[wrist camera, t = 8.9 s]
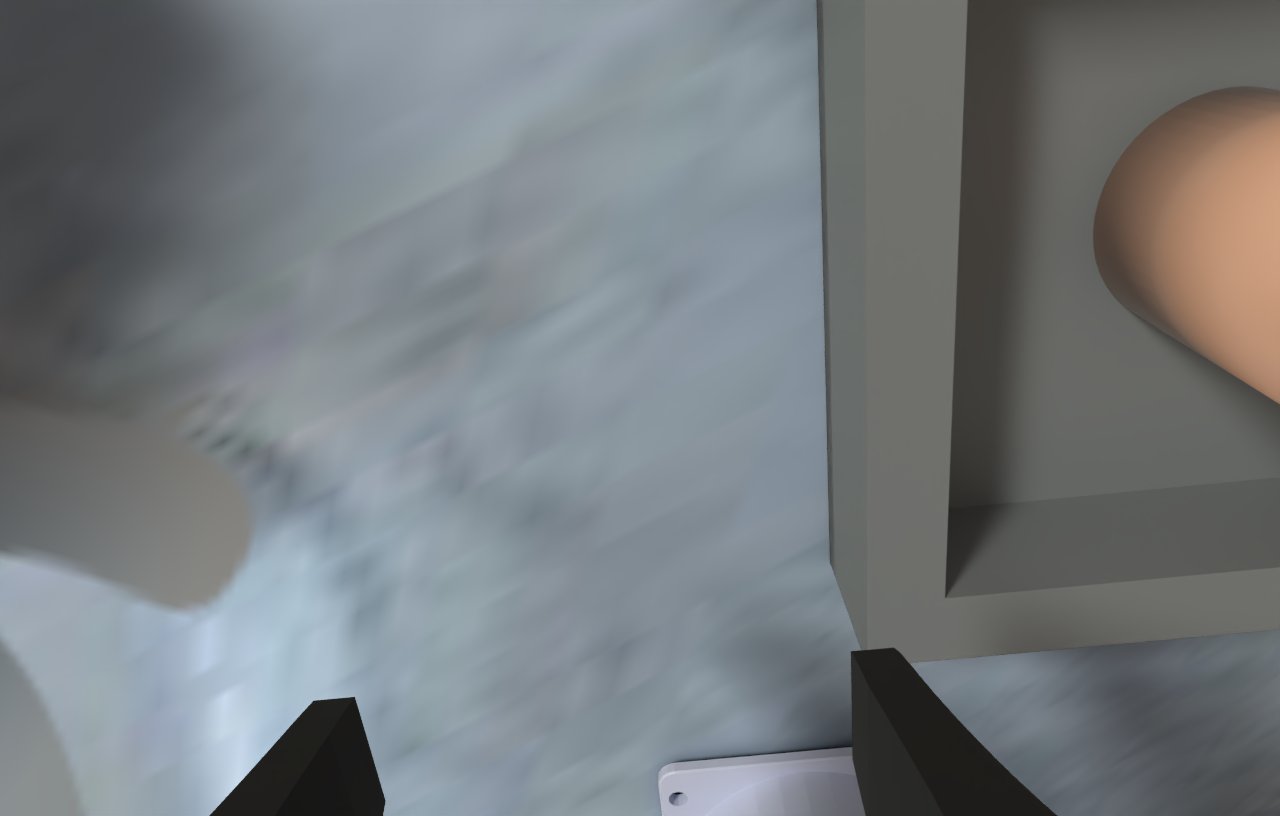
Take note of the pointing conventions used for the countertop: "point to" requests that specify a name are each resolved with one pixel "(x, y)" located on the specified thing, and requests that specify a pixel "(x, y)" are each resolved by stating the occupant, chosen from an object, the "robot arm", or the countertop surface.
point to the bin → (1025, 335)
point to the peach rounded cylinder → (1202, 230)
